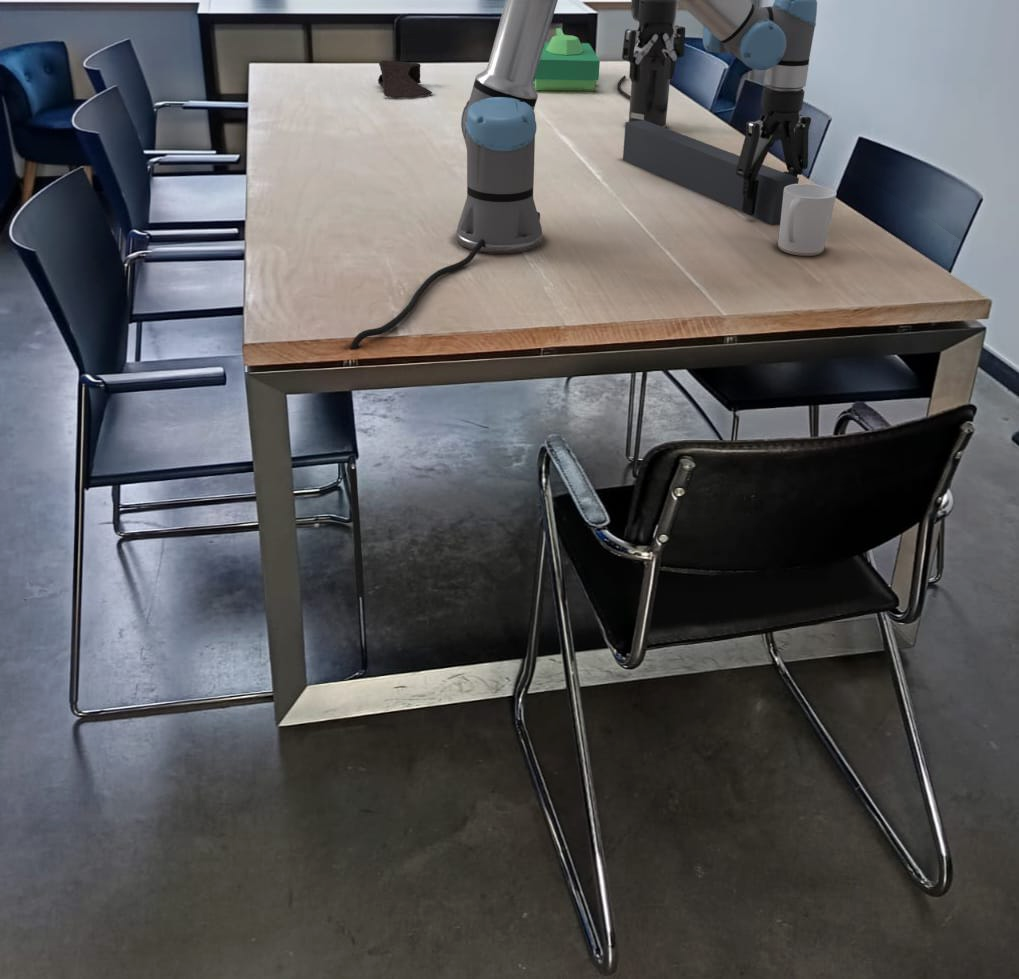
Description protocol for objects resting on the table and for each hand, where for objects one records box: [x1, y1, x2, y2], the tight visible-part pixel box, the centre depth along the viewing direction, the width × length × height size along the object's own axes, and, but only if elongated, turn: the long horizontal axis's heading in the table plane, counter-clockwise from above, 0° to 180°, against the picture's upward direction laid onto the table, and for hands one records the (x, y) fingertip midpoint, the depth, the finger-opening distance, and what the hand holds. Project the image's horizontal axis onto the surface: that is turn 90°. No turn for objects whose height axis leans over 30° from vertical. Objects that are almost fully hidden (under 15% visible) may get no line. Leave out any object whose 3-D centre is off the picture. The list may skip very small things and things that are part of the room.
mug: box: [777, 183, 837, 257], centre depth 191 cm, size 11×9×10 cm
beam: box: [622, 120, 800, 225], centre depth 224 cm, size 50×5×8 cm, turn 29°
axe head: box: [377, 59, 433, 99], centre depth 299 cm, size 18×8×15 cm
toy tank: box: [534, 27, 601, 91], centre depth 314 cm, size 18×12×35 cm
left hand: (766, 209), depth 211 cm, fingers open, 8 cm apart
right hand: (651, 80), depth 232 cm, fingers open, 8 cm apart
